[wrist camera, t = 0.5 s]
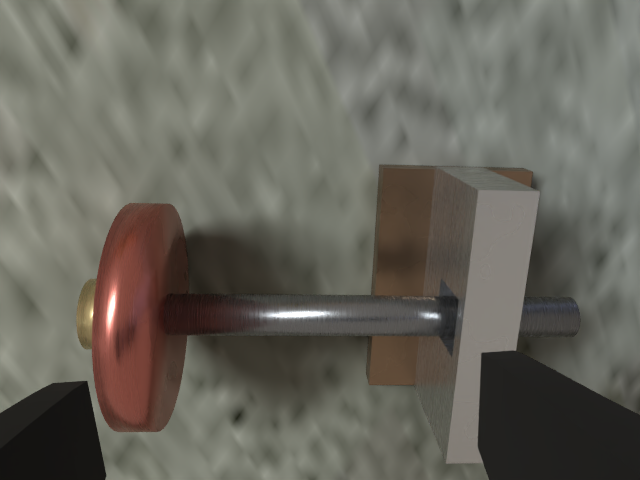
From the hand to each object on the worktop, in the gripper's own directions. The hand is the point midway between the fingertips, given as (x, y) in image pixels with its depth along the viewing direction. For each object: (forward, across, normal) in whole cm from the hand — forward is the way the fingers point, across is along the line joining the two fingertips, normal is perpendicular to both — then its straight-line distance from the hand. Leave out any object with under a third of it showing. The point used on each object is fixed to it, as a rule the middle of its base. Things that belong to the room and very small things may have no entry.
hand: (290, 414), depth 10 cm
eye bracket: (+9, -5, +1) cm, 11 cm away
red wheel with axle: (+9, -1, +1) cm, 9 cm away
